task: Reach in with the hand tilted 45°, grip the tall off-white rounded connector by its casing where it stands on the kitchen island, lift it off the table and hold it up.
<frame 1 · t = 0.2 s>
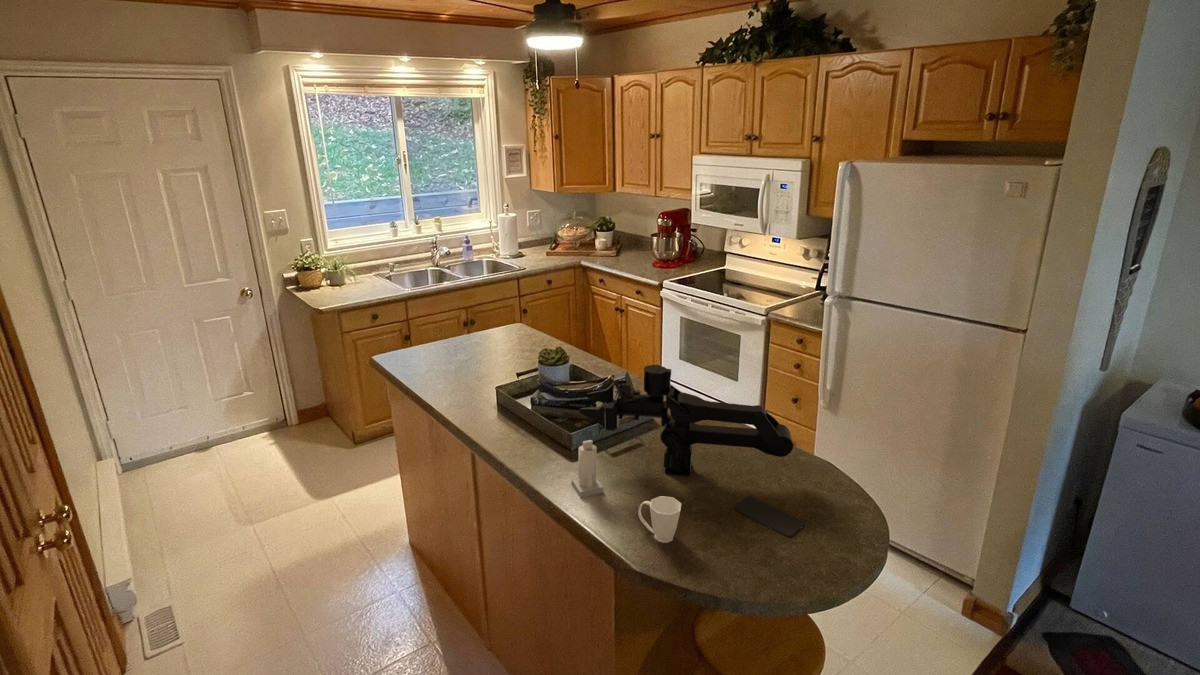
hand: (583, 402, 162), 17 cm above the counter, tool horizontal, fingers open, 9 cm apart
cup: (657, 534, 138), on the counter
phone: (768, 518, 145), on the counter
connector: (587, 488, 154), on the counter
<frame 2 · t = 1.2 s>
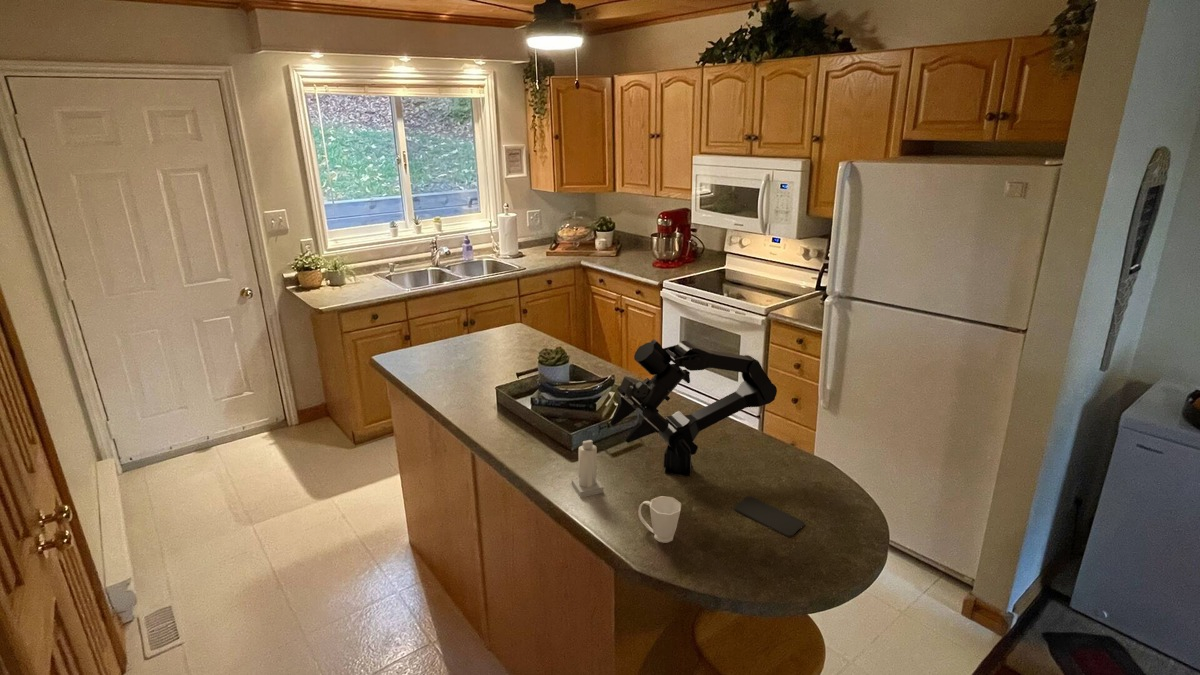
hand: (618, 433, 153), 14 cm above the counter, tool tilted 45°, fingers open, 9 cm apart
nothing on the counter moved.
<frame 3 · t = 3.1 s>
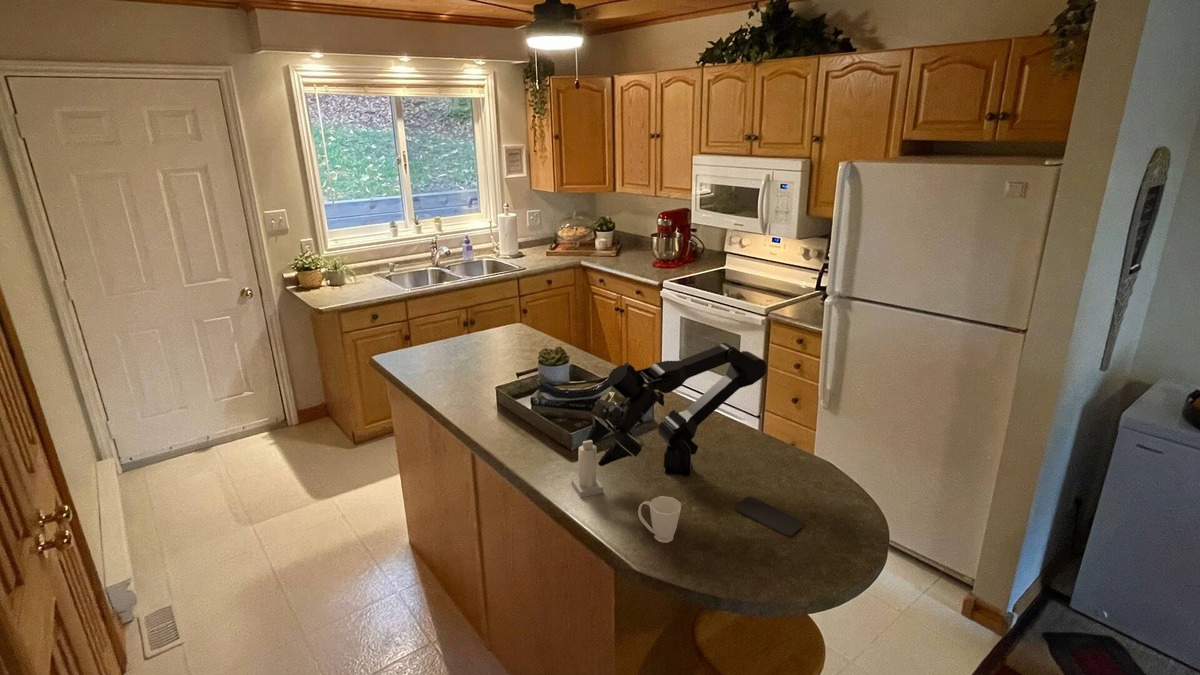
hand: (592, 455, 152), 9 cm above the counter, tool tilted 45°, fingers open, 9 cm apart
nothing on the counter moved.
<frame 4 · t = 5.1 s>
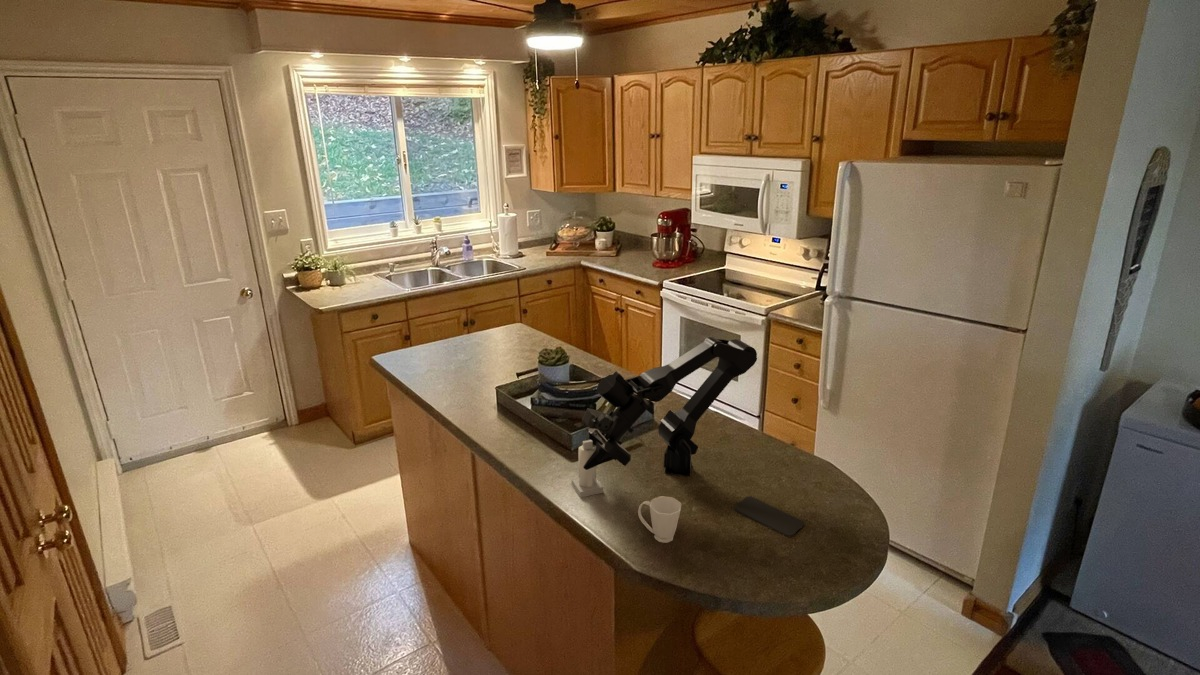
hand: (582, 465, 152), 7 cm above the counter, tool tilted 45°, fingers closed on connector, 3 cm apart
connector: (587, 488, 154), on the counter, touching gripper
everything else where it was.
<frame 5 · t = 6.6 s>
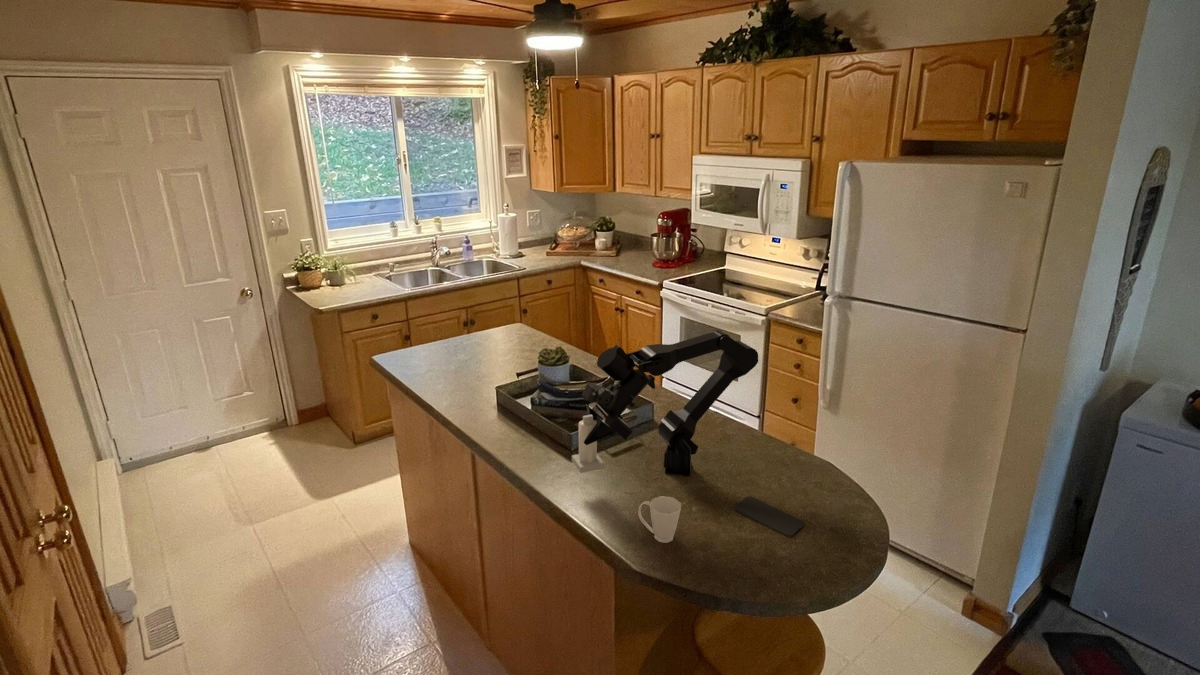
hand: (582, 440, 149), 13 cm above the counter, tool tilted 45°, fingers closed on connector, 3 cm apart
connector: (587, 464, 152), point 7 cm above the counter, touching gripper
everything else where it was.
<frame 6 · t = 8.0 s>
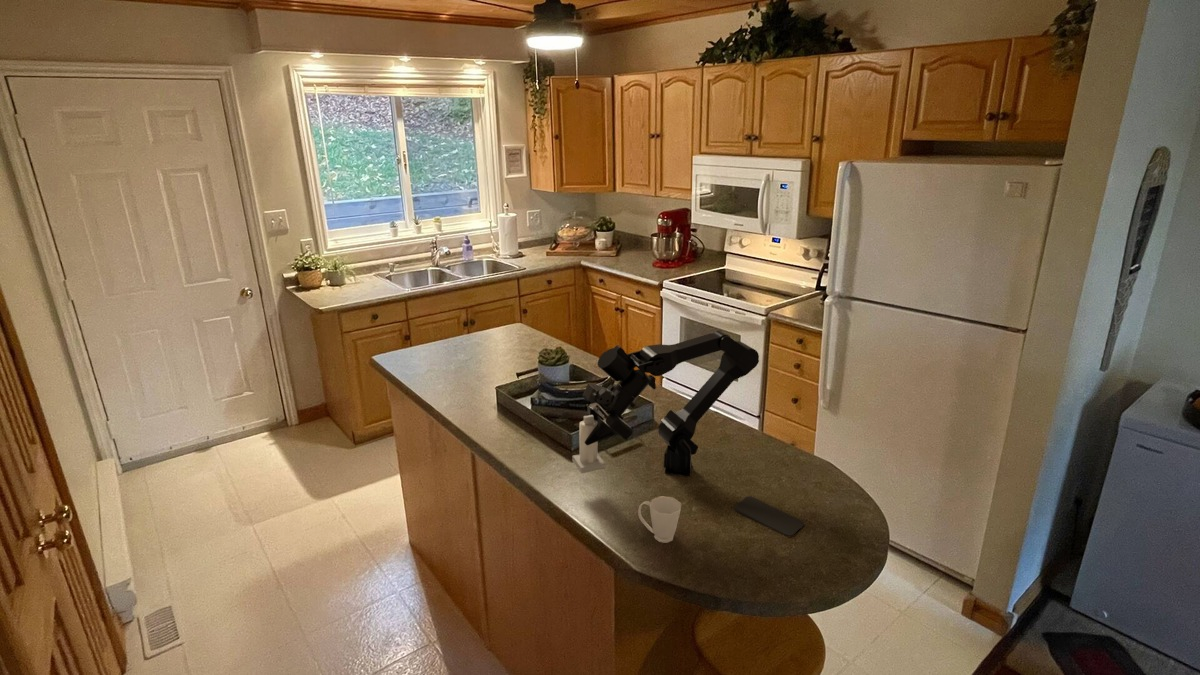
hand: (583, 440, 150), 13 cm above the counter, tool tilted 45°, fingers closed on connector, 3 cm apart
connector: (588, 464, 152), point 7 cm above the counter, touching gripper
everything else where it was.
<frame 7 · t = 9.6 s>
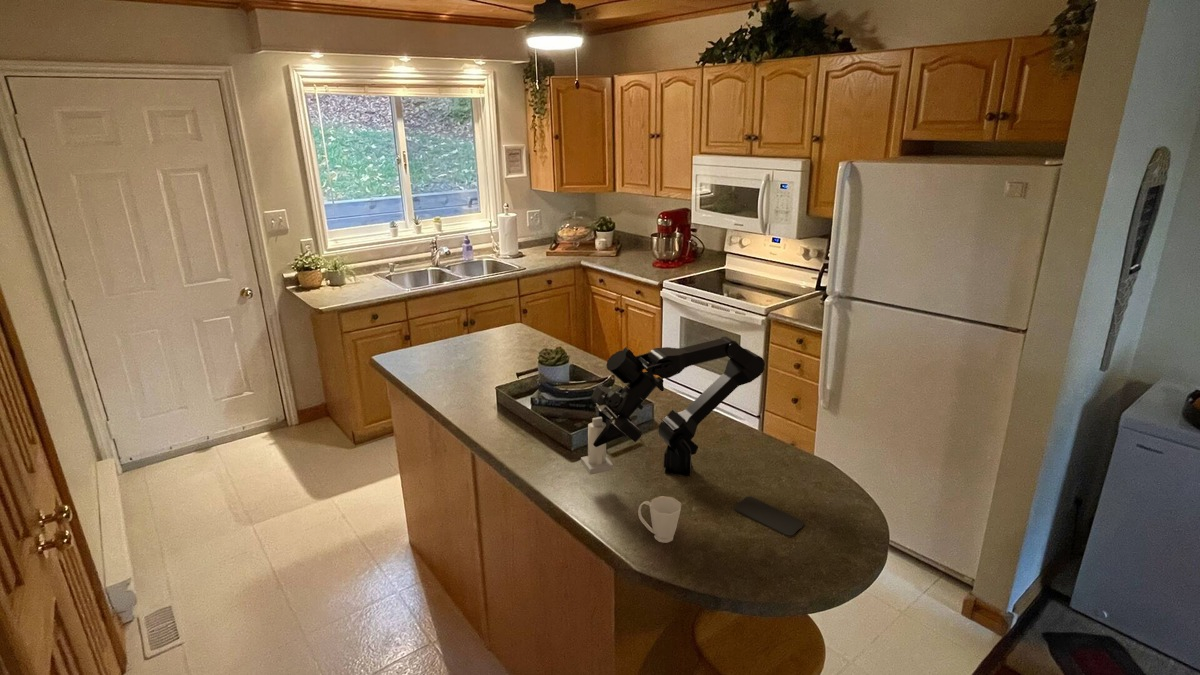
hand: (591, 442, 151), 13 cm above the counter, tool tilted 45°, fingers closed on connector, 3 cm apart
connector: (596, 466, 153), point 6 cm above the counter, touching gripper
everything else where it was.
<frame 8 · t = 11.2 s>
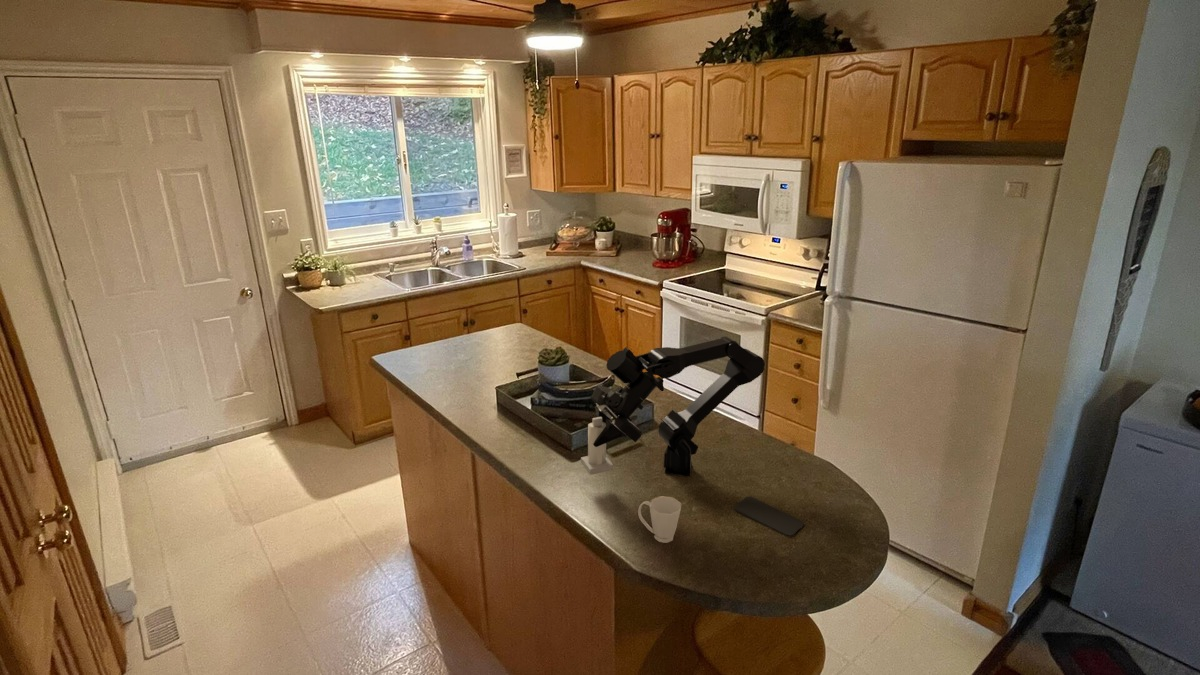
hand: (591, 442, 151), 13 cm above the counter, tool tilted 45°, fingers closed on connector, 3 cm apart
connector: (596, 466, 153), point 6 cm above the counter, touching gripper
everything else where it was.
at the end: the gripper is holding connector; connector point 5.7 cm above the counter; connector tilted 0° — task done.
